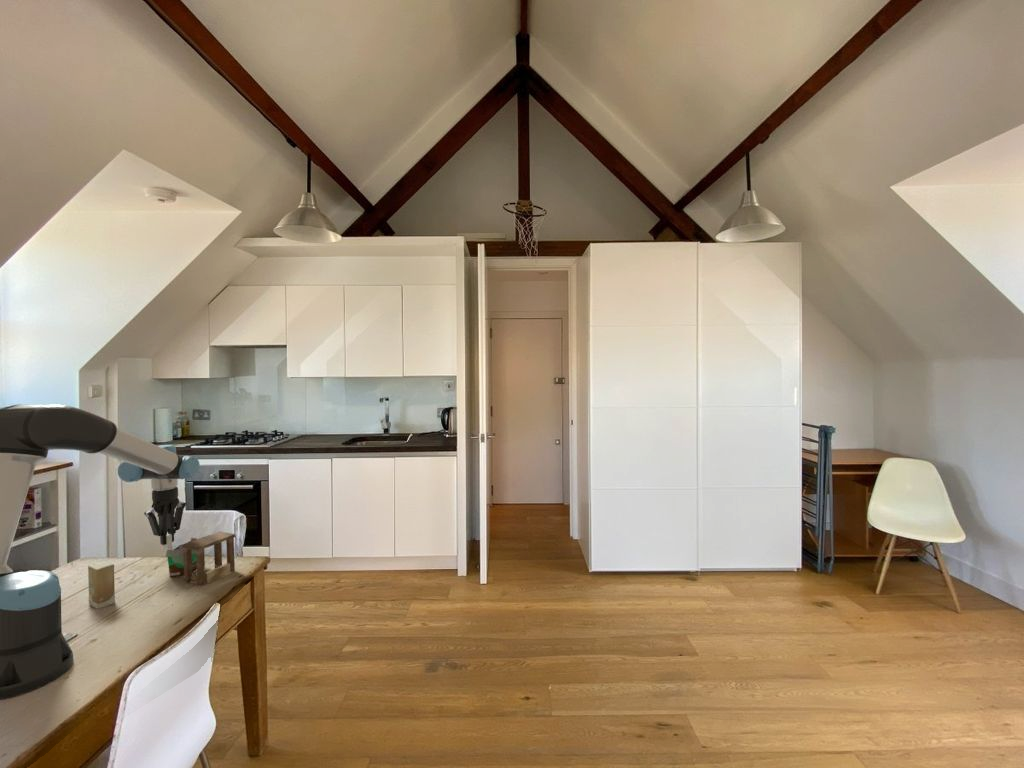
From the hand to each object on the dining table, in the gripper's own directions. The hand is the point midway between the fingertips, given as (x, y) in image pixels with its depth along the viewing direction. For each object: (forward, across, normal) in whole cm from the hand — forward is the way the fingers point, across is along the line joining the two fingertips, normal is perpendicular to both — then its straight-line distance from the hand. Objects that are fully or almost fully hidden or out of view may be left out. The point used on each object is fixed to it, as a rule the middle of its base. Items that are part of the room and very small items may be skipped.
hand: (167, 552), depth 162 cm
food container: (+6, 0, -12) cm, 13 cm away
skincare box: (+5, -24, -9) cm, 26 cm away
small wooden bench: (+5, 0, -23) cm, 23 cm away
